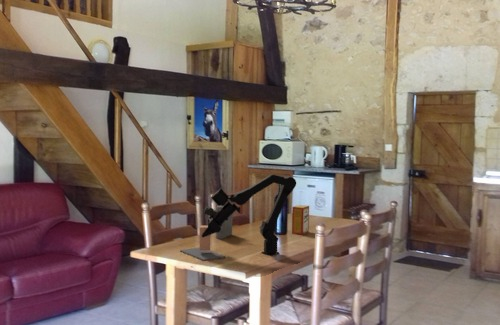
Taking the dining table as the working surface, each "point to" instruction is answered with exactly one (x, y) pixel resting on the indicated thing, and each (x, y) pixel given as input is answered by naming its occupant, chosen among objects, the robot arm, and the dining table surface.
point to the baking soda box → (300, 219)
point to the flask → (224, 227)
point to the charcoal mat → (202, 254)
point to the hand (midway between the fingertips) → (202, 235)
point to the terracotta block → (204, 239)
